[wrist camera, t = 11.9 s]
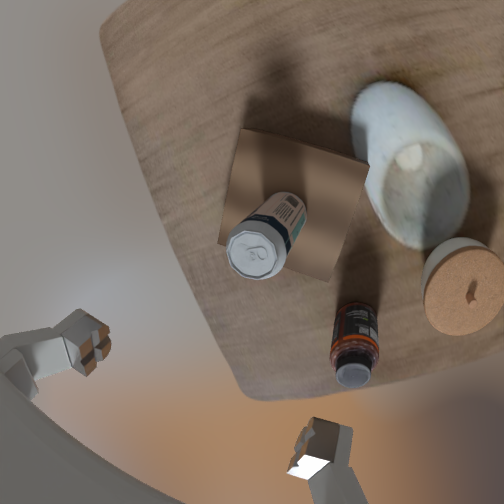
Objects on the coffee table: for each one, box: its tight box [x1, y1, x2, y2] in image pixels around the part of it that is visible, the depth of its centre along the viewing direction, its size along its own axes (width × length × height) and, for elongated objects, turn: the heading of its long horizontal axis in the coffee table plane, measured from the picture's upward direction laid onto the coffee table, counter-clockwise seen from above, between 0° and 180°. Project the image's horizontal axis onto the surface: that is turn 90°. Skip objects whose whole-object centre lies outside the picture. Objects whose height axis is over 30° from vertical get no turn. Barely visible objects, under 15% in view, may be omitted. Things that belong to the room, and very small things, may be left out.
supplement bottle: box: [330, 302, 379, 388], centre depth 35 cm, size 6×6×11 cm
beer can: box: [226, 192, 307, 280], centre depth 28 cm, size 5×5×12 cm
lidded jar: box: [421, 237, 504, 336], centre depth 28 cm, size 11×11×9 cm
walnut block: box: [217, 128, 370, 282], centre depth 34 cm, size 14×14×4 cm
